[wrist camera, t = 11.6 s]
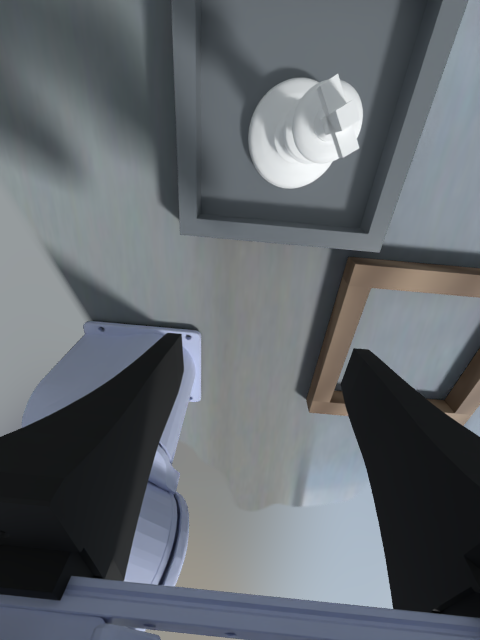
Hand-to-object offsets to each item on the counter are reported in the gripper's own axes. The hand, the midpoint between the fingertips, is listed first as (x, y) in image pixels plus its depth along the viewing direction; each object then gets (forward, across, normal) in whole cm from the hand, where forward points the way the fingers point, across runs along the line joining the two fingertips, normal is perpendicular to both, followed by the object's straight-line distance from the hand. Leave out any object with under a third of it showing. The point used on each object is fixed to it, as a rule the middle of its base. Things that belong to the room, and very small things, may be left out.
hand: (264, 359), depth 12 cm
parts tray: (+10, -1, -9) cm, 13 cm away
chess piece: (+9, -1, -8) cm, 12 cm away
